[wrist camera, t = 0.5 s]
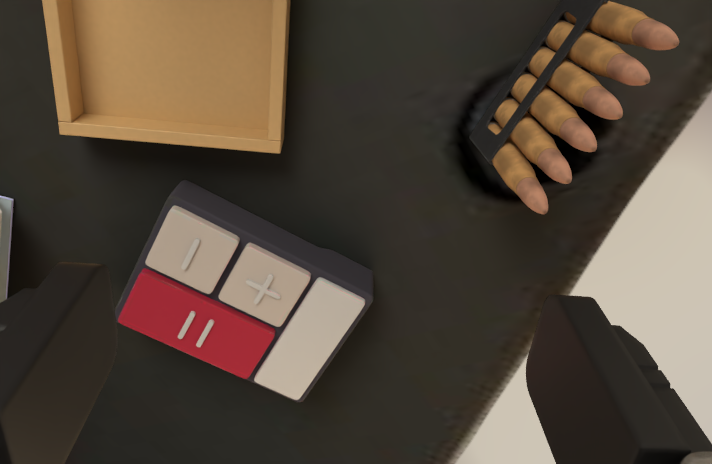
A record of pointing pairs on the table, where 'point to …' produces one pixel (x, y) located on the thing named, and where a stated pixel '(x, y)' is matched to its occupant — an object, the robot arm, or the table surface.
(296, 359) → the calculator
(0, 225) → the diorama
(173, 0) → the tray
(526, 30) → the table surface
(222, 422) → the table surface
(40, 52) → the table surface
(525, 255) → the table surface
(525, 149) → the ammunition clip
